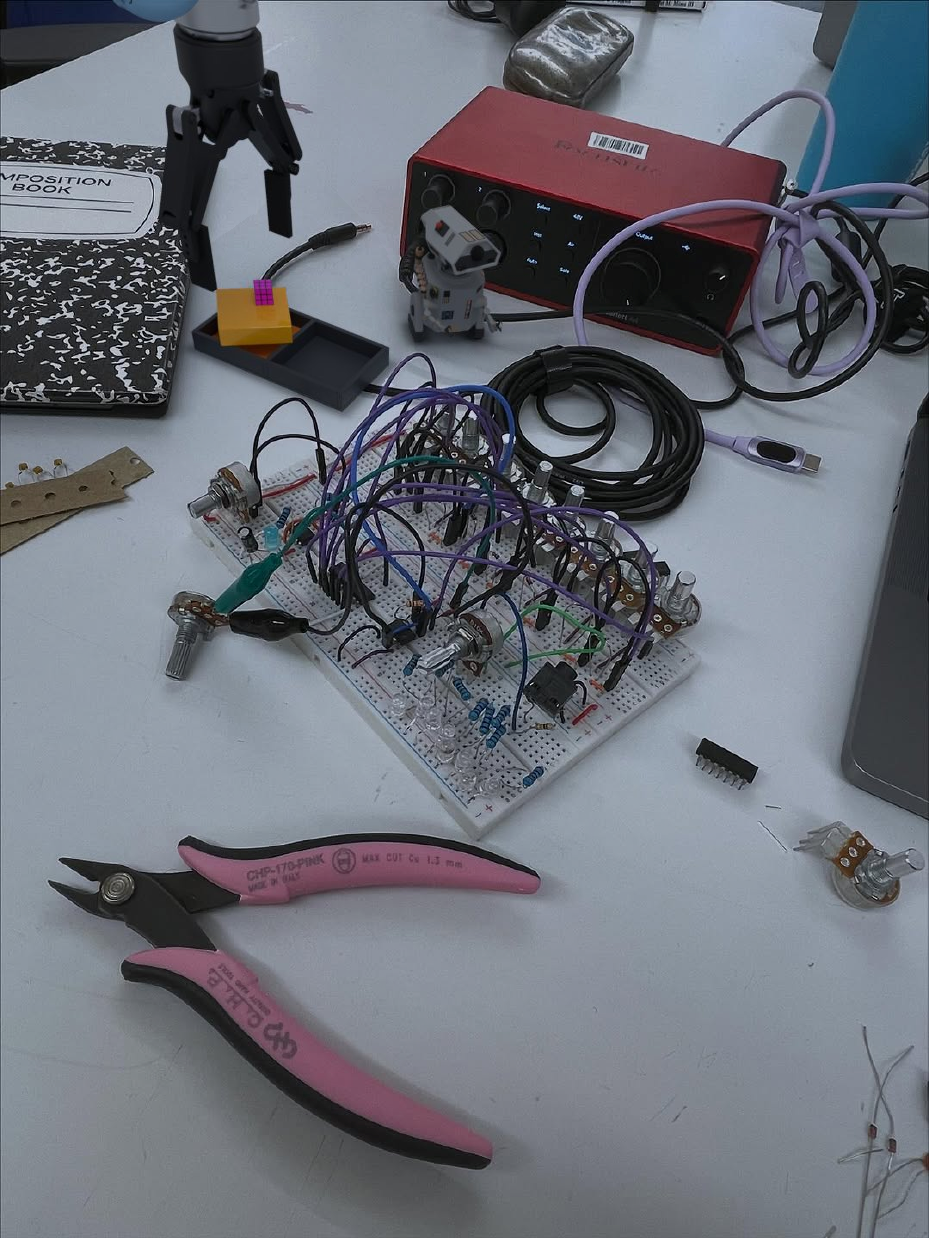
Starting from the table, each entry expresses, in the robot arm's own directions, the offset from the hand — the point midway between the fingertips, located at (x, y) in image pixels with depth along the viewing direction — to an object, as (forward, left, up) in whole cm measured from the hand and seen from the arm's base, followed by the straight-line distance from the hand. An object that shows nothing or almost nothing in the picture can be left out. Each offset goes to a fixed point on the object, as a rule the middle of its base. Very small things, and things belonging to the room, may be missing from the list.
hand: (244, 259), depth 86 cm
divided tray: (+5, 0, -11) cm, 12 cm away
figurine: (+19, +14, -11) cm, 26 cm away
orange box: (0, 0, -8) cm, 8 cm away
